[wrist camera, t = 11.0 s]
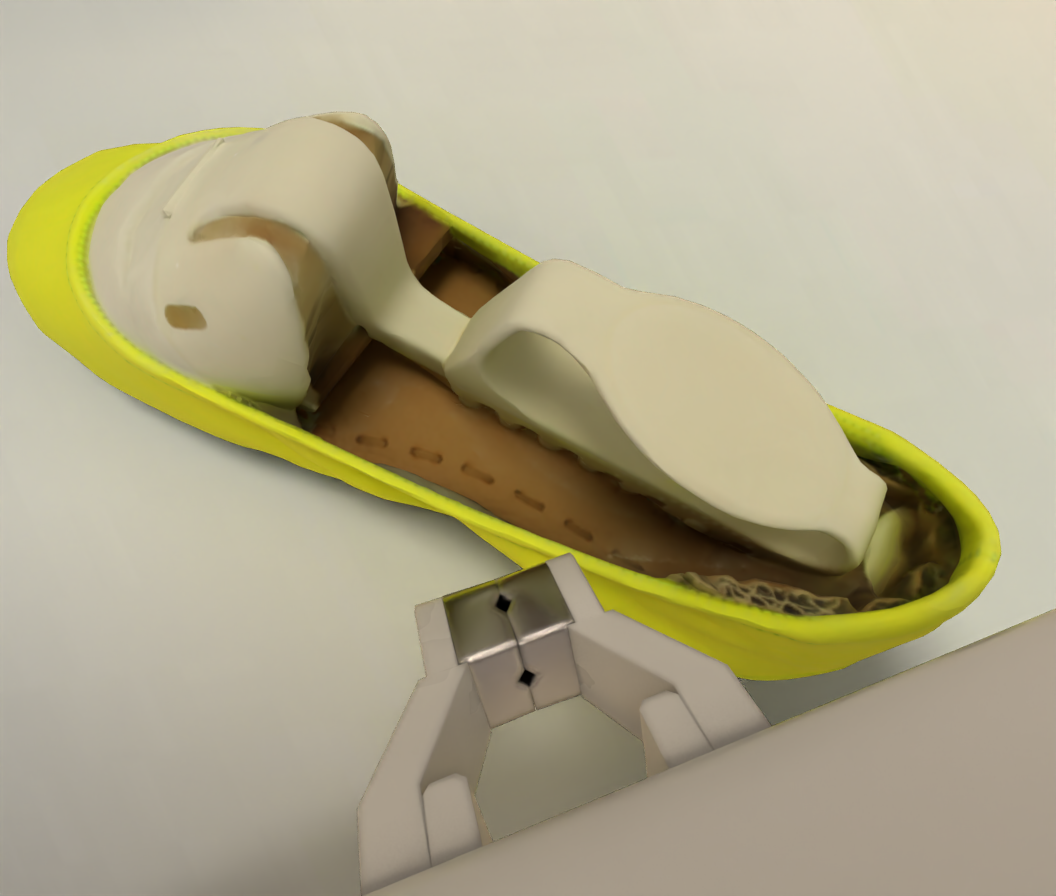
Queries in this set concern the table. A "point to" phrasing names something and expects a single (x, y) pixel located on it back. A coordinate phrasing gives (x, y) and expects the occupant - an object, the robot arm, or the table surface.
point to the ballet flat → (498, 392)
